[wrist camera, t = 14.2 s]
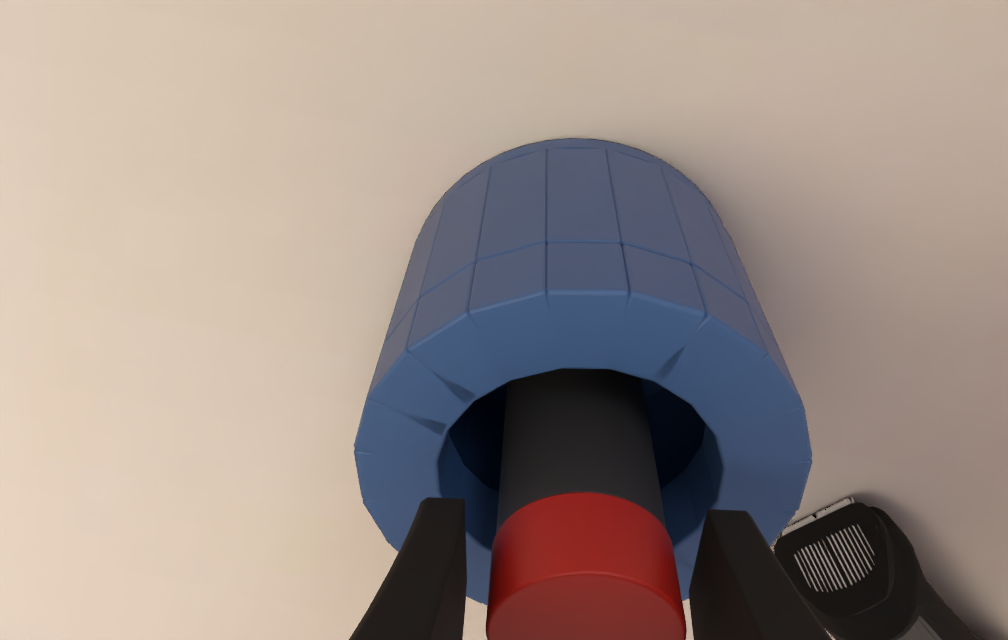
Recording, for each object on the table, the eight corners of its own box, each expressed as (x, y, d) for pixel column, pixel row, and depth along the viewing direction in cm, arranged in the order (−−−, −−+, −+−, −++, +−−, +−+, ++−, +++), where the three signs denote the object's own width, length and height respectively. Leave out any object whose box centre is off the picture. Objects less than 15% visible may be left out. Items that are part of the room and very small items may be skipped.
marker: (552, 230, 17) (554, 544, 10) (654, 288, 18) (729, 622, 11) (489, 320, 19) (449, 652, 11) (586, 369, 19) (610, 714, 12)
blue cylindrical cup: (535, 64, 16) (529, 192, 10) (804, 263, 18) (913, 452, 13) (353, 318, 20) (279, 508, 14) (594, 456, 22) (609, 665, 16)
